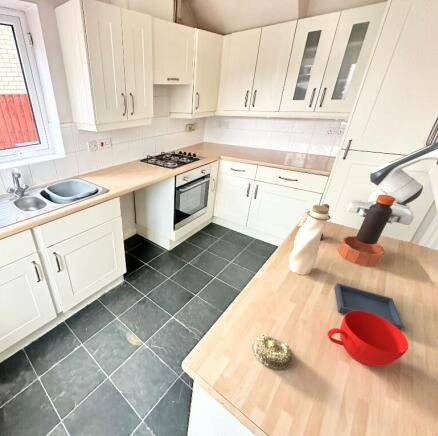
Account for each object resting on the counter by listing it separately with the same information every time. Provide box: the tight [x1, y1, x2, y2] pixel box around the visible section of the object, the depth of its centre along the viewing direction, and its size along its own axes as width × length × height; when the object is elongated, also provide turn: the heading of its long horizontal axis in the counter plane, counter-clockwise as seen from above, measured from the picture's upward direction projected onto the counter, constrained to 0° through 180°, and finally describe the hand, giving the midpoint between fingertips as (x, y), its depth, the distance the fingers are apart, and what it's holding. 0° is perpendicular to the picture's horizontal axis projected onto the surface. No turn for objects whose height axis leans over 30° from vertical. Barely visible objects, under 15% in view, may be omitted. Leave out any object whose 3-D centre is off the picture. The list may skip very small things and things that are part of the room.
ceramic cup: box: [327, 310, 409, 367], centre depth 66 cm, size 13×17×10 cm
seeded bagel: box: [252, 332, 292, 371], centre depth 68 cm, size 10×10×5 cm
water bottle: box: [288, 204, 331, 276], centre depth 94 cm, size 10×9×28 cm
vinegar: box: [355, 195, 395, 244], centre depth 98 cm, size 7×7×20 cm
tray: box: [334, 282, 405, 332], centre depth 81 cm, size 16×13×3 cm
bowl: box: [337, 235, 386, 267], centre depth 105 cm, size 14×14×6 cm
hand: (376, 218), depth 97 cm, fingers closed on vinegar, 6 cm apart
